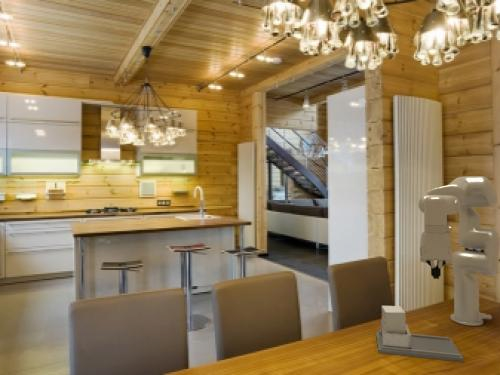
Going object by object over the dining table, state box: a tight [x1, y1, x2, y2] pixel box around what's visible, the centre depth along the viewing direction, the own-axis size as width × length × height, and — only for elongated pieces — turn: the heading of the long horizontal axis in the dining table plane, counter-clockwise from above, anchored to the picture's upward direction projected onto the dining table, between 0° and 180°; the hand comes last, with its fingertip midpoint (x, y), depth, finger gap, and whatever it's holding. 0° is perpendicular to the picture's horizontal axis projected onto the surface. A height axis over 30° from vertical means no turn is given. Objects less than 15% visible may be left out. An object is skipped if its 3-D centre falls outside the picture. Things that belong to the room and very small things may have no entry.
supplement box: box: [381, 305, 406, 337], centre depth 140 cm, size 7×7×13 cm
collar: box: [379, 320, 412, 349], centre depth 140 cm, size 10×12×5 cm
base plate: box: [375, 330, 464, 363], centre depth 138 cm, size 28×16×2 cm, turn 74°
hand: (435, 278), depth 135 cm, fingers closed
